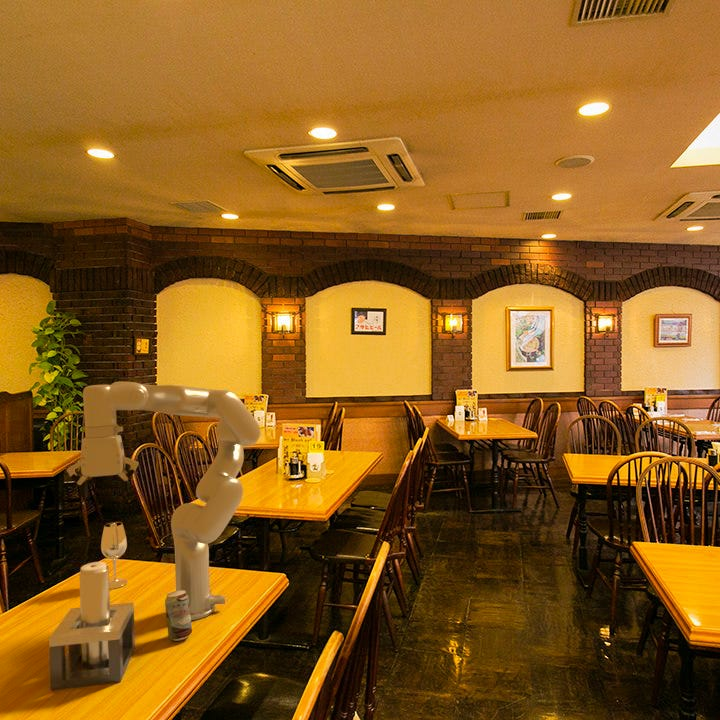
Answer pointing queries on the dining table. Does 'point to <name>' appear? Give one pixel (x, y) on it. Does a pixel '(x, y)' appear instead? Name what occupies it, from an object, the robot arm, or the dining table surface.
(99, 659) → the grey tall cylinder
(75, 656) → the collar stand
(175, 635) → the beverage can
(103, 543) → the wineglass
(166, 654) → the dining table surface
